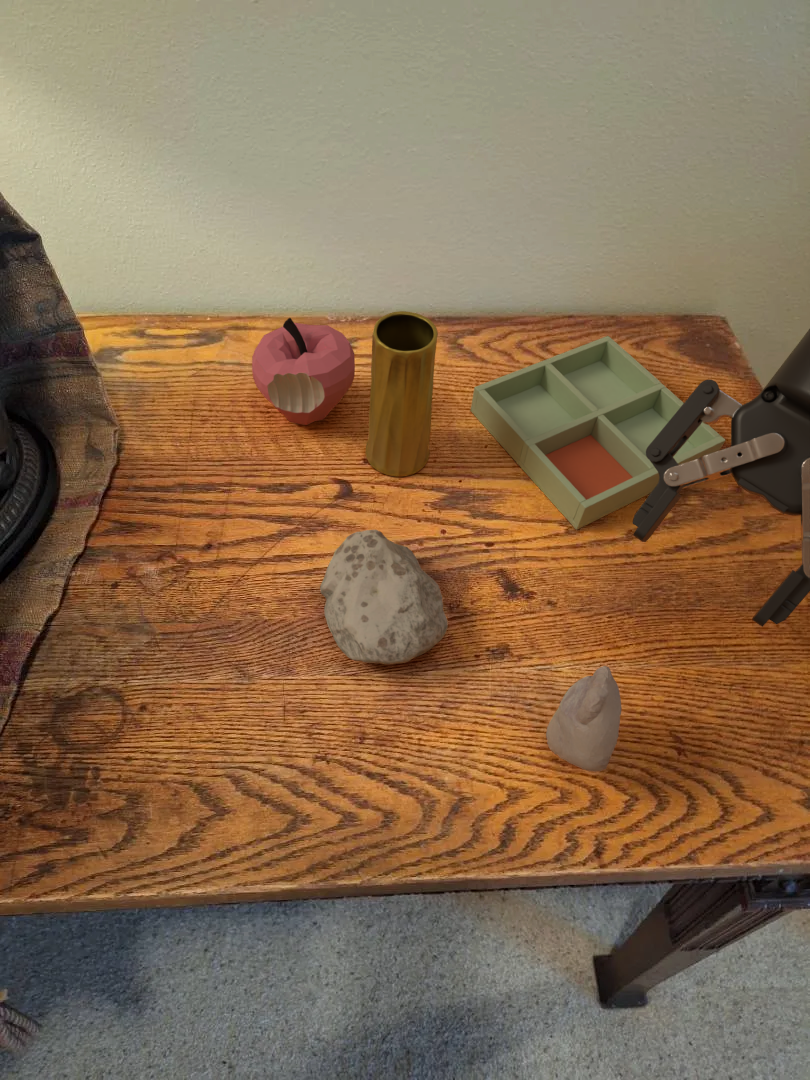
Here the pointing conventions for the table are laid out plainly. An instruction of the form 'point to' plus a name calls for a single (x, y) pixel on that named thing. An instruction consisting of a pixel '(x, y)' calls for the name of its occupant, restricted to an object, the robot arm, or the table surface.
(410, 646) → the decorative stone
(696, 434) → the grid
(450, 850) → the table surface
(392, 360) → the vase
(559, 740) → the grey brown rock
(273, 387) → the apple
